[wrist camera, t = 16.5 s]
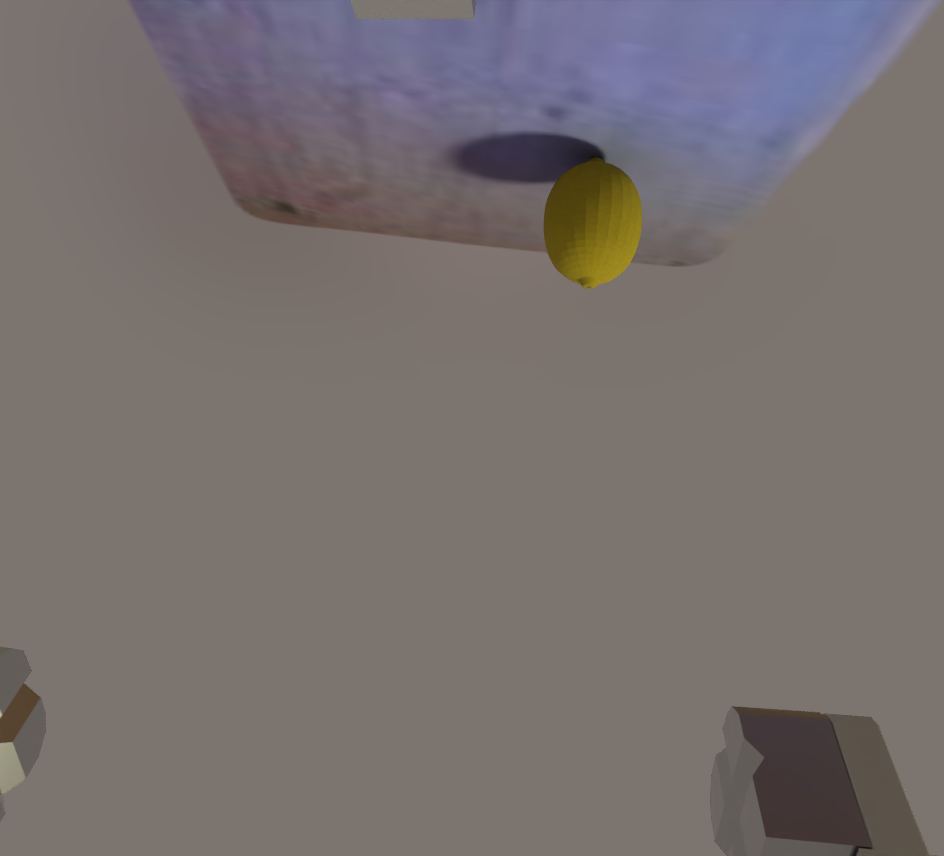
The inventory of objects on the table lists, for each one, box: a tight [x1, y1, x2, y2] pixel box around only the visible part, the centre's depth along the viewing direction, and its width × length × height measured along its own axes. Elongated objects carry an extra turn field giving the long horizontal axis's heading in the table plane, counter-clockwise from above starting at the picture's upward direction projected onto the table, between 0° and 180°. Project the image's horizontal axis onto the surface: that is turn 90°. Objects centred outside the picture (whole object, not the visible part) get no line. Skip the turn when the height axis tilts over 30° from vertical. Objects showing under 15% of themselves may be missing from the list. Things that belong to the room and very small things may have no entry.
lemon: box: [544, 157, 642, 289], centre depth 50 cm, size 6×6×8 cm
